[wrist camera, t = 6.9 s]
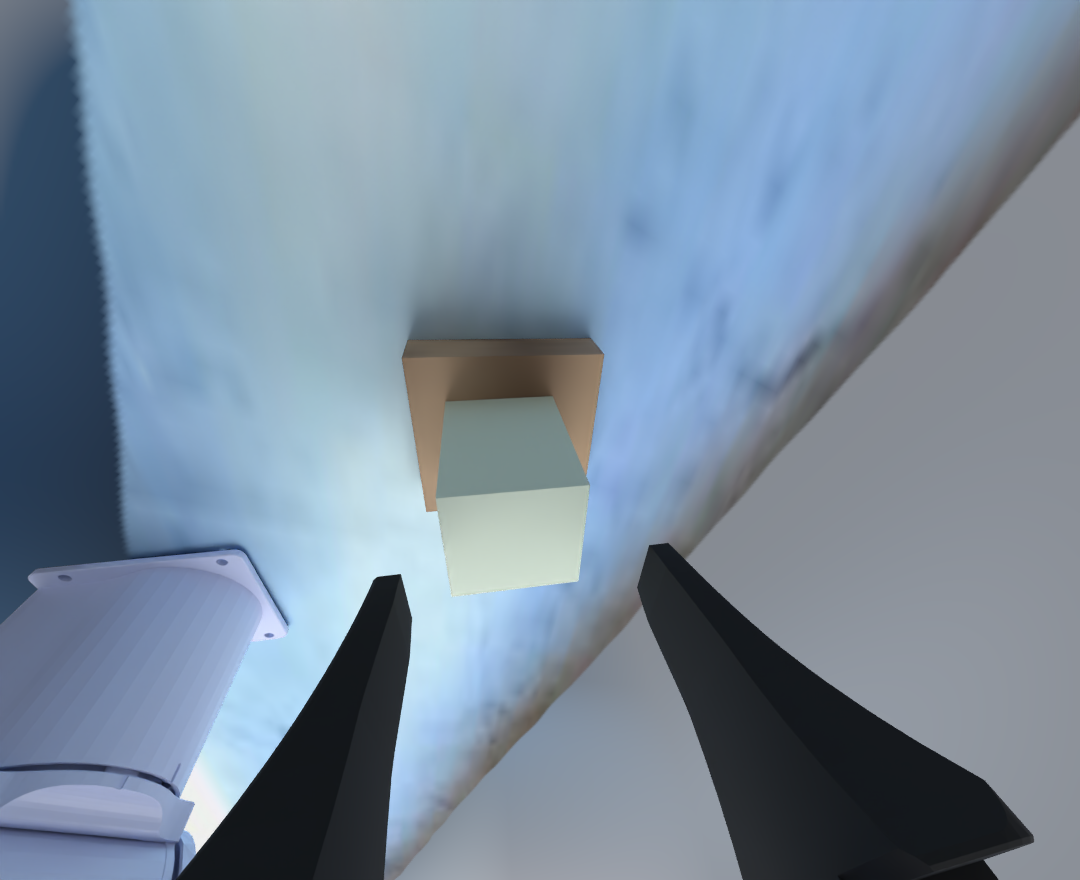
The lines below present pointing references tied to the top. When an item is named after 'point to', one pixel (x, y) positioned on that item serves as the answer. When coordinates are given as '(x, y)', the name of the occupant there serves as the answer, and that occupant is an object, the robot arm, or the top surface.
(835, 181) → the top surface
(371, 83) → the top surface
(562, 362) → the walnut base block
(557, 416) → the sage block
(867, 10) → the top surface
